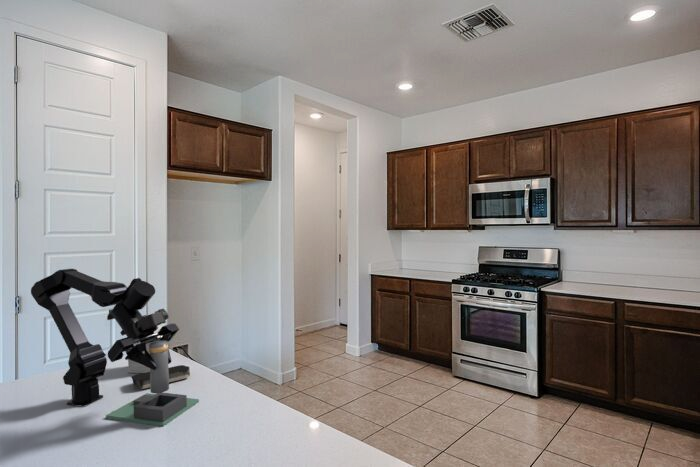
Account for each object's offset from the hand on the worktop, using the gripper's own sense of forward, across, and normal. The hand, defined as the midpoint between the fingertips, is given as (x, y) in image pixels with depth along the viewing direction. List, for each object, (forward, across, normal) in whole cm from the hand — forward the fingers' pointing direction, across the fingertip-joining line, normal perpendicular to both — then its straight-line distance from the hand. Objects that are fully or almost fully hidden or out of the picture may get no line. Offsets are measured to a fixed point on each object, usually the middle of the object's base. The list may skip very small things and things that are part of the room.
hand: (163, 365), depth 104 cm
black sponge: (-4, +18, +24) cm, 30 cm away
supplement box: (-14, +25, +34) cm, 45 cm away
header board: (+6, +2, +13) cm, 15 cm away
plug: (+4, 0, +6) cm, 7 cm away
